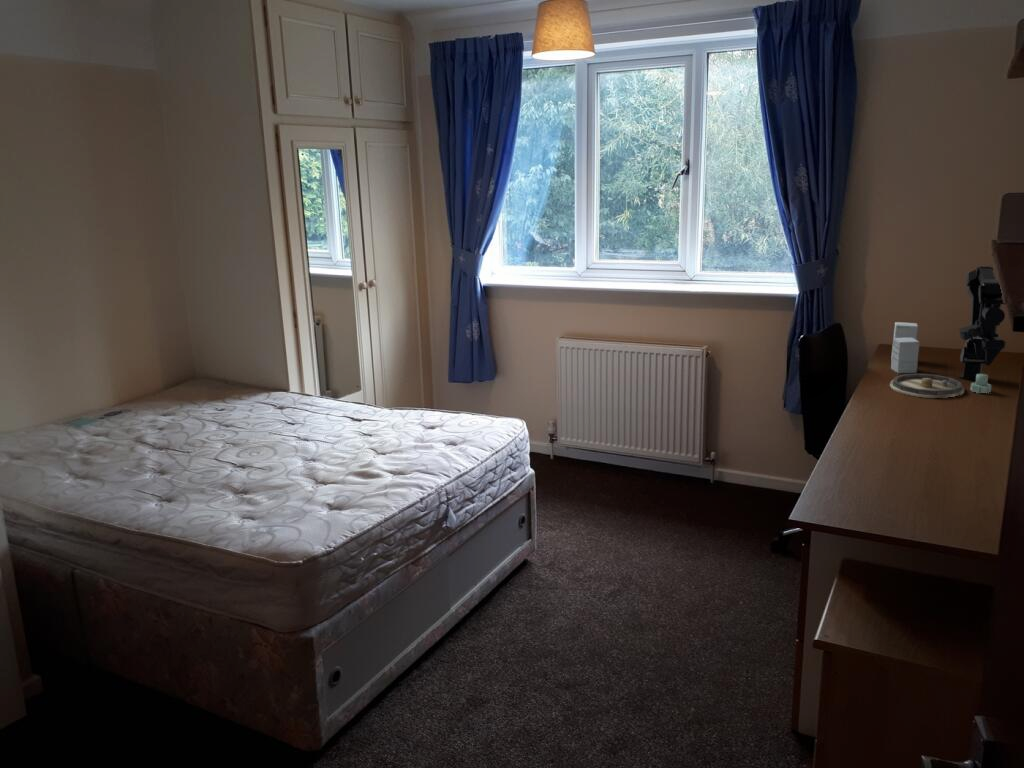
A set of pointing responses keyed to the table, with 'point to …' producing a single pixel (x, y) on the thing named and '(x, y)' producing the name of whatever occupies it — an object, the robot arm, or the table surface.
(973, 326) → the robot arm
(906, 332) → the skincare box
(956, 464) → the table surface
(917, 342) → the supplement box
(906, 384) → the carrier plate
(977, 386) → the pale green domed piece
